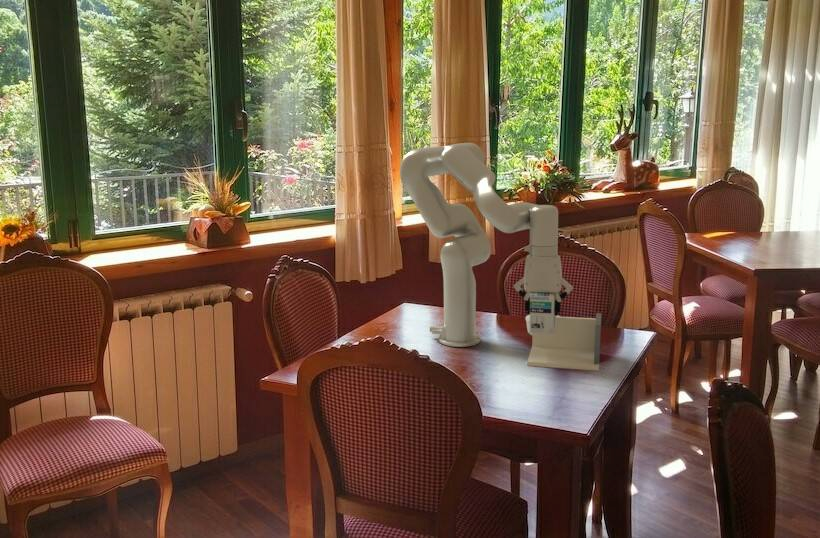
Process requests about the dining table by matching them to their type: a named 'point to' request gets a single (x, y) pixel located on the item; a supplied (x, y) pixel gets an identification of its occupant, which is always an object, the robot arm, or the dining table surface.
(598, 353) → the bookend
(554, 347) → the cream open angled stand
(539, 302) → the light bulb box
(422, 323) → the dining table surface
